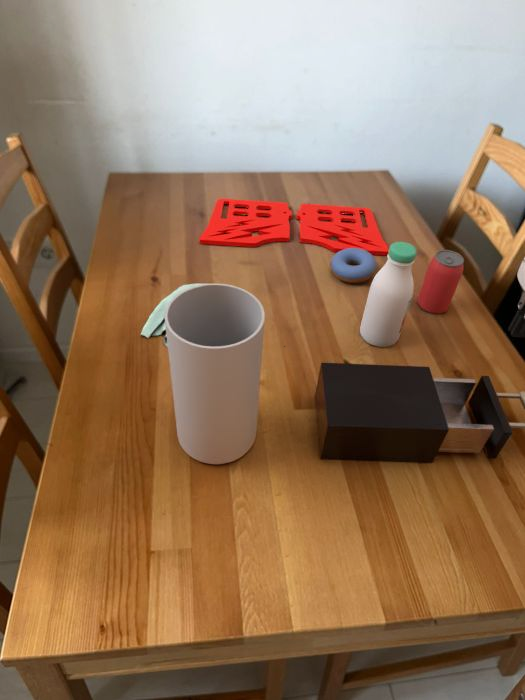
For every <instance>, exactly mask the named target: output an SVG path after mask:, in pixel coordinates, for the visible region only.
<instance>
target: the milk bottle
mask: <svg viewBox="0 0 525 700" xmlns="http://www.w3.org/2000/svg"><path fill="white" fill-rule="evenodd" d="M417 254H418V250H417V248H416V247H415V246H414V245H413V244H411V243H409V242H406V241H395V242H393V243H391V244H390V246H389V252H388V255H386V256H387V260H386V262H385V263H384V265H383V266H382V267H381V268H380V269H379V271H377V272H376V274H375V276H374V277H373V280H372V282H371V283H370V287H369V290H368V295H367V298H366V302H365V306H364V310H363V315H362V319H361V322H360V327H359V333H360V336H361V338H362V339H363V340H364V341H365V342H366V343H367V344H369V345H371V346H374V347H378V348H387V347H391V346H393V345H395V344H396V343H397V342H398V340H399V338H400V335H401V333H402V330H403V327H404V324H405V321H406V317H407V314H408V311H409V309H410V305H411V301H412V299H413V295H414V287H415V286H414V285H415V283H414V278H413V273H412V265H413V264H414V263H415V259H416V257H417Z"/></svg>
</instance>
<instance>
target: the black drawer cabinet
mask: <svg viewBox="0 0 525 700" xmlns="http://www.w3.org/2000/svg"><path fill="white" fill-rule="evenodd" d="M317 377H318V378H317V383H316V386H315V387H316V388H315V394H314V405H315V407H314V408H315V418H316V427H317V428H316V430H317V440H318V451H319V460H327V461H328V460H329V461H330V460H332V461H360V462H361V461H362V462H386V463H387V462H390V463H391V462H392V463H419V464H420V463H421V464H433V463H434V461H435V459H436V456H437V455H438V453H439V452H438V451H439V449H440V447H441V445H442V443H443V441H444V439H445V437H446V435H447V433H448V431H449V428H448V425H447V422H446V419H445V415H444V412H443V409H442V406H441V403H440V399H439V396H438V393H437V390H436V387H435V384H434V380H433V378H434V377H433V374H432V371H431V368H430V366H419V365H418V366H417V365H416V366H415V365H396V364H395V365H394V364H393V365H391V364H365V363H343V362H320V367H319V373H318V376H317Z"/></svg>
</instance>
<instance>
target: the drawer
mask: <svg viewBox="0 0 525 700" xmlns="http://www.w3.org/2000/svg"><path fill="white" fill-rule="evenodd" d="M433 380H434V384H435V387H436V390H437V393H438V396H439V399H440V403H441V406H442V409H443V412H444V415H445V419H446V422H447V425H448V428H449V431H448V433H447V435H446V437H445V439H444V441H443V443H442V445H441V447H440V449H439V451H438V453H458V454H459V453H460V454H461V453H463V454H464V453H465V454H480V453H481V452H482V450H483V449H485V452H486V455H487V458H488V459H497V458H498V456H499V455H500V453H501V451H502V450H503V448H504V447H505V446H506V444H507V443H508V441H509V440H510V438H511V436H512V435H513V433H514V432H513V430H512V429H525V422H509V419H508V418H507V415H506V412H505V411H504V409H503V406H502V404H501V401H500V399H519V401H520V403H521V405H522V407H523V409H524V410H525V390H523V391H520V392H519V393H516V392H515V393H514V392H513V393H511V392H496V389H495V387H494V385H493V382H492V380H491V377H490V375H481V376H480V379H479V380H478V382H477V381H476V379H475V378H453V377H433ZM476 383H477V384H476ZM475 385H476V386H475ZM473 389H474V390H473ZM472 391H473V392H472ZM471 393H472V394H471ZM470 395H471V396H470ZM467 403H468V406H469V409H470V412H471V415H472V417H473V420H474V422H475V423H472V421H471V418H470V415H469V412H468V410H467V406H466V404H467Z"/></svg>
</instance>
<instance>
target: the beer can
mask: <svg viewBox="0 0 525 700" xmlns="http://www.w3.org/2000/svg"><path fill="white" fill-rule="evenodd" d="M464 262H465V259H464V257H463V256H462V255H461V254H460V253H458V252H457V251H455V250H450V249H441V250H438V251H436V252H435V254H434V256H432V258H431V260H430V261H429V263H428V267H427V270H426V273H425V275H424V278H423V281H422V284H421V287H420V290H419V293H418V296H417V304H418V306H419V307H420V308H421V309H422V310H423V311H425V312H427V313H430V314H435V315H438V314H443V313H445V312H447V311H448V310H449V308H450V306H451V303H452V300H453V297H454V295H455V293H456V291H457V288H458V286H459V283H460V280H461V278H462V275H463V272H464Z"/></svg>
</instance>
